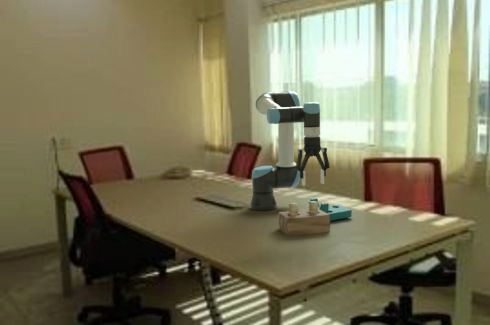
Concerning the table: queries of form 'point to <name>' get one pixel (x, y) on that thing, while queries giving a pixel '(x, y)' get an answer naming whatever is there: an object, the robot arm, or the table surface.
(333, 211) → the teal l-shaped bracket
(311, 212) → the far peg
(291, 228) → the socket block
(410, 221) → the table surface
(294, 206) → the near peg
